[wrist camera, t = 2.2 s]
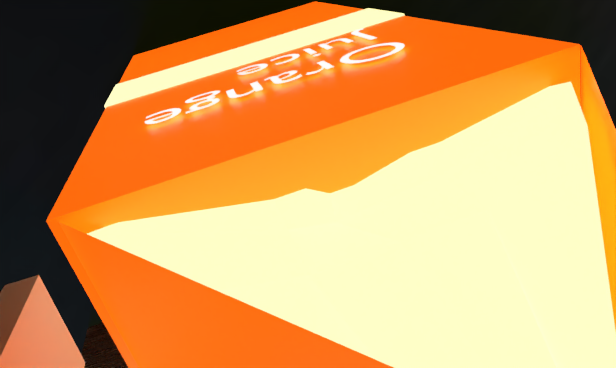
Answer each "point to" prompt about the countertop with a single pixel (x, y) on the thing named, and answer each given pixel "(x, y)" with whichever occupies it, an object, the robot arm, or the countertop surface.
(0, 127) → the countertop surface
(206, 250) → the orange juice
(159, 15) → the countertop surface
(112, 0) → the countertop surface
